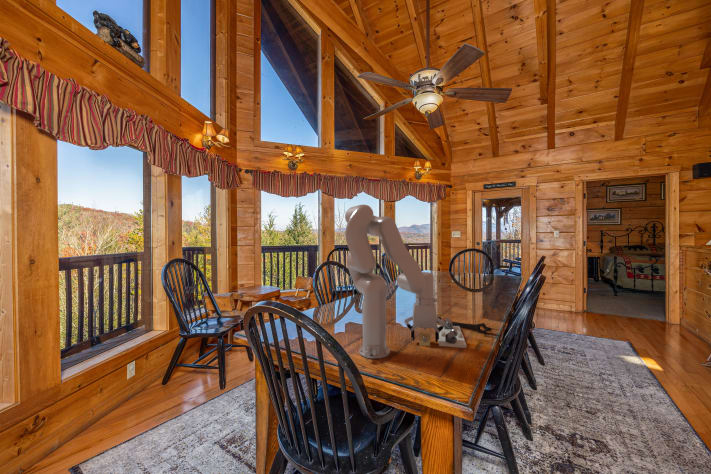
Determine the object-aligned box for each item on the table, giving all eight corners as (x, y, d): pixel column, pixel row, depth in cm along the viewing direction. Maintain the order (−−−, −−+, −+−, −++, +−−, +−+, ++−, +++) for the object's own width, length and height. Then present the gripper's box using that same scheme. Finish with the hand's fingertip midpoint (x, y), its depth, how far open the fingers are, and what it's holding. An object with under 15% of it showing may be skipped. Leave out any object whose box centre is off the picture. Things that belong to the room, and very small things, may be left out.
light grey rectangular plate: (466, 347, 120) (466, 342, 120) (439, 345, 123) (439, 340, 123) (459, 328, 144) (459, 324, 144) (436, 327, 146) (436, 322, 146)
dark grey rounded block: (450, 338, 128) (450, 328, 128) (458, 340, 125) (458, 330, 125) (444, 342, 123) (444, 331, 123) (452, 344, 121) (452, 333, 121)
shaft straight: (453, 331, 137) (453, 321, 137) (445, 330, 138) (445, 321, 138) (451, 326, 144) (451, 317, 144) (443, 325, 145) (443, 316, 145)
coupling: (430, 347, 121) (430, 334, 121) (419, 346, 122) (419, 333, 122) (429, 341, 128) (429, 329, 128) (419, 340, 129) (419, 328, 129)
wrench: (439, 323, 159) (495, 333, 137) (434, 326, 156) (490, 336, 134) (438, 313, 159) (494, 322, 137) (433, 316, 156) (489, 325, 134)
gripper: (444, 299, 127) (445, 338, 127) (404, 298, 130) (405, 335, 131) (446, 304, 119) (446, 345, 120) (403, 302, 123) (404, 342, 123)
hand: (424, 340), depth 125 cm, fingers open, 9 cm apart
